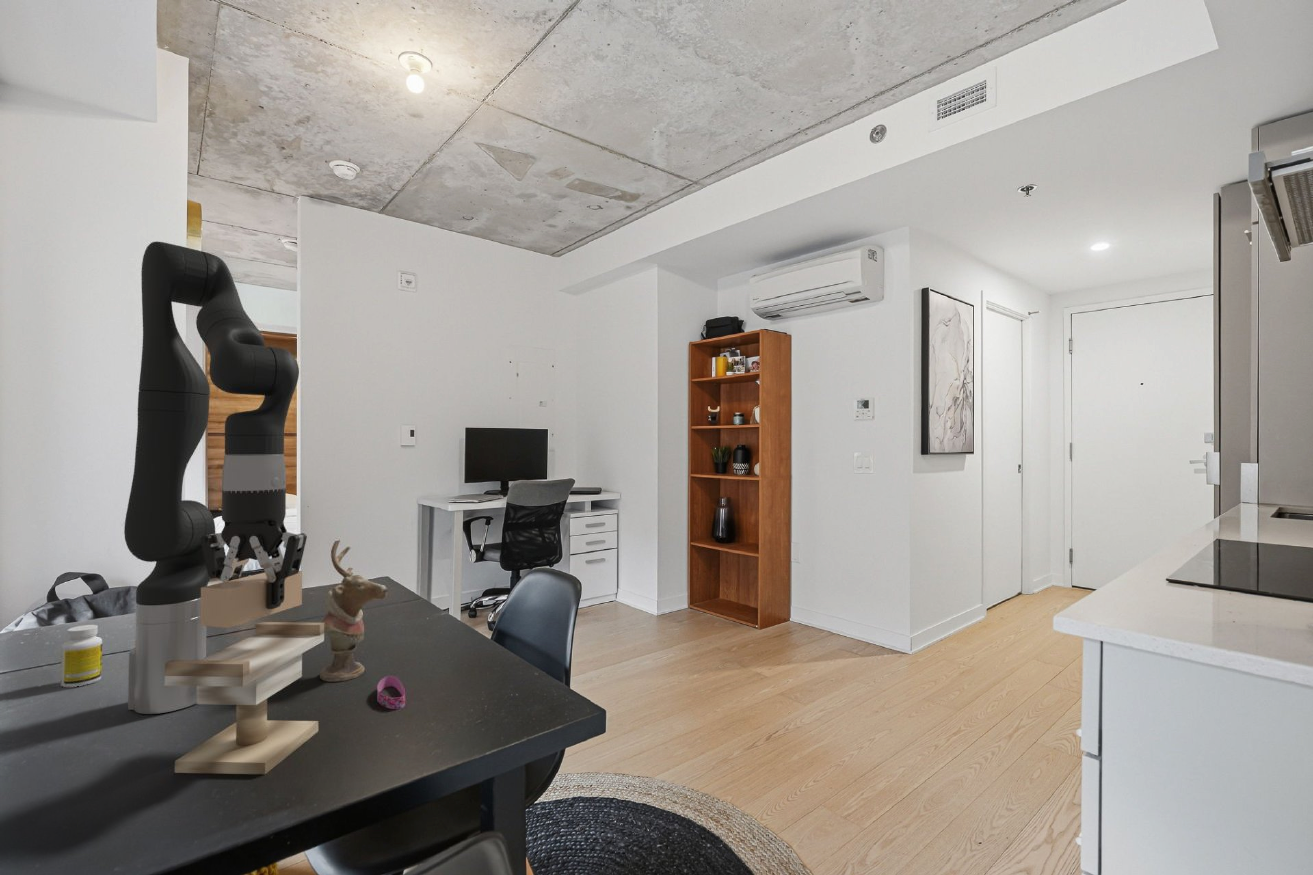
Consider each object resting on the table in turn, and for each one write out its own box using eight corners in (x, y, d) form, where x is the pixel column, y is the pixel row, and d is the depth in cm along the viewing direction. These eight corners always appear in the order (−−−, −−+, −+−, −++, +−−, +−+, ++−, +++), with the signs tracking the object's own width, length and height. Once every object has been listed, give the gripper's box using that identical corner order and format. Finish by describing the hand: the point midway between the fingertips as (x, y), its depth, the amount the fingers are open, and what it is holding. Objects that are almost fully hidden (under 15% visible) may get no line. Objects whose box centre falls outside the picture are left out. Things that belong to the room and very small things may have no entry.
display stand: (155, 785, 77) (157, 662, 77) (253, 720, 95) (254, 621, 95) (249, 787, 77) (250, 664, 77) (329, 722, 95) (330, 622, 95)
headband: (371, 691, 107) (372, 678, 108) (395, 686, 110) (396, 674, 110) (382, 713, 98) (383, 699, 98) (408, 708, 101) (409, 695, 101)
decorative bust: (401, 668, 114) (380, 535, 114) (324, 692, 107) (302, 550, 107) (390, 656, 123) (371, 533, 124) (318, 678, 116) (299, 547, 117)
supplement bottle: (108, 679, 111) (108, 625, 111) (69, 690, 106) (70, 633, 106) (92, 674, 114) (93, 621, 114) (54, 685, 109) (55, 629, 109)
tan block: (200, 625, 81) (200, 587, 81) (276, 602, 93) (277, 569, 93) (227, 627, 80) (228, 589, 80) (301, 604, 91) (302, 570, 92)
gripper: (320, 485, 90) (319, 601, 90) (223, 484, 90) (223, 600, 90) (288, 488, 82) (287, 615, 82) (183, 488, 83) (182, 614, 83)
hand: (253, 607), depth 86 cm, fingers closed on tan block, 5 cm apart
